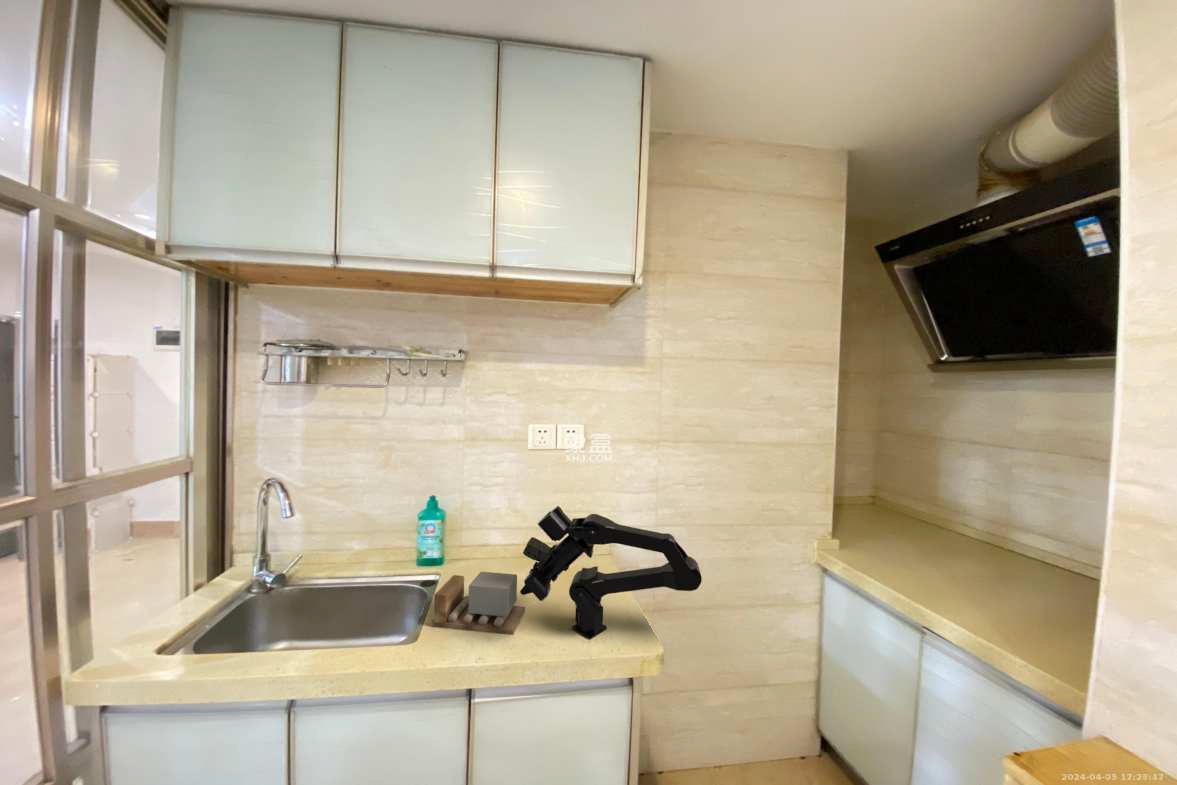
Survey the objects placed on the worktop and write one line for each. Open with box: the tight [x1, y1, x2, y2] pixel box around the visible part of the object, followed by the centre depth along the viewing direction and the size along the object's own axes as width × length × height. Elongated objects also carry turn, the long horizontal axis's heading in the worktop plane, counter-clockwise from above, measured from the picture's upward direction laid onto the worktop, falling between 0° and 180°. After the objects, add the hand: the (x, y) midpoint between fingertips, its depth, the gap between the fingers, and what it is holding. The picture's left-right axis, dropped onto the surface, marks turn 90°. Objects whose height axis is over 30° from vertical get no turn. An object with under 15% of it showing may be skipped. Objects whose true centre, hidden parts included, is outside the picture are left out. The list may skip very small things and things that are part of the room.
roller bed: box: [430, 574, 526, 636], centre depth 114 cm, size 21×11×8 cm, turn 82°
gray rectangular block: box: [468, 571, 518, 617], centre depth 113 cm, size 10×8×7 cm
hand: (521, 593), depth 112 cm, fingers closed
